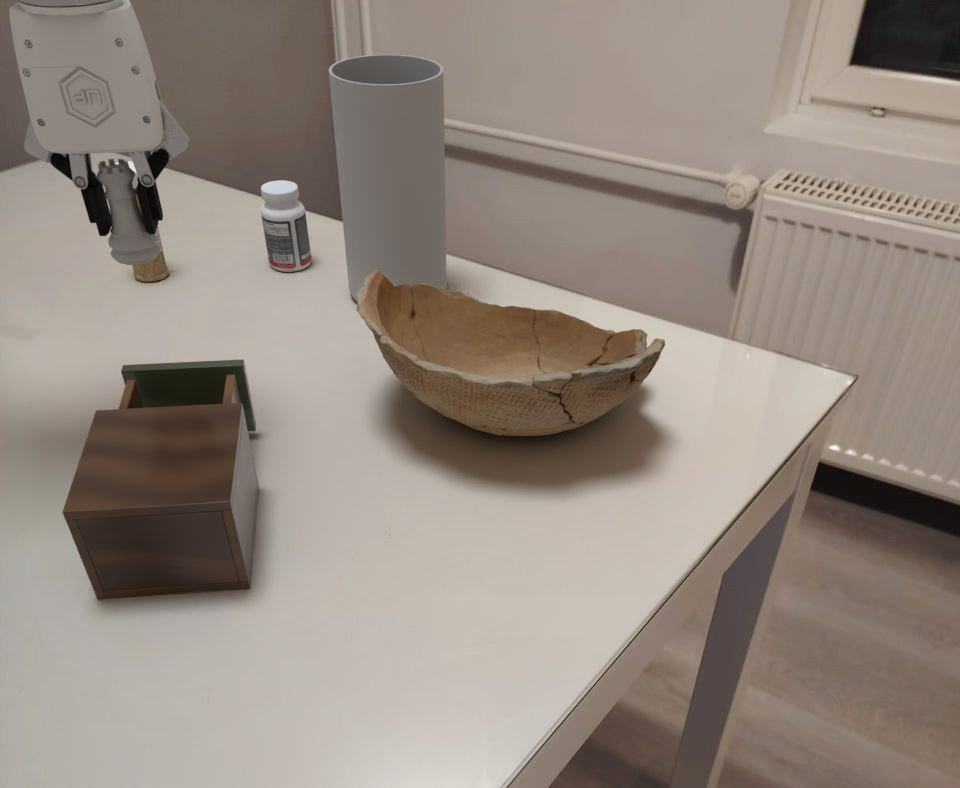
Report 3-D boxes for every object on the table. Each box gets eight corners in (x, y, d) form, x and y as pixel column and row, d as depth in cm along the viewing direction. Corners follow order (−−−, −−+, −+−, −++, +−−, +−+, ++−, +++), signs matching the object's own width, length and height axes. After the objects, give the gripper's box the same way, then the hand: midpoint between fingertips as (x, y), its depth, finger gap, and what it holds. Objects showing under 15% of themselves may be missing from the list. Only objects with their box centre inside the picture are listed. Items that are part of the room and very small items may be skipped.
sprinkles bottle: (131, 272, 119) (102, 162, 109) (166, 266, 120) (140, 157, 111) (138, 285, 116) (108, 174, 107) (173, 279, 118) (147, 169, 108)
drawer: (148, 406, 94) (130, 341, 89) (258, 400, 95) (246, 336, 90) (121, 512, 82) (98, 443, 76) (248, 504, 83) (234, 436, 77)
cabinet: (123, 494, 85) (95, 410, 78) (258, 486, 86) (242, 402, 80) (96, 599, 75) (61, 512, 68) (250, 588, 76) (230, 501, 69)
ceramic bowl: (638, 330, 105) (656, 207, 93) (657, 500, 90) (681, 381, 78) (384, 330, 106) (368, 209, 94) (361, 499, 91) (338, 381, 79)
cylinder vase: (337, 309, 112) (313, 81, 94) (364, 268, 121) (347, 51, 103) (435, 319, 111) (429, 88, 93) (455, 276, 119) (453, 58, 101)
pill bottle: (299, 252, 124) (289, 175, 117) (319, 266, 121) (310, 188, 114) (261, 262, 122) (249, 184, 115) (281, 276, 119) (269, 198, 111)
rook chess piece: (171, 253, 84) (150, 161, 78) (135, 270, 81) (110, 176, 75) (138, 242, 85) (114, 151, 80) (101, 259, 83) (74, 165, 77)
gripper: (-63, -6, 65) (26, 250, 78) (172, -9, 67) (220, 242, 80) (-36, -27, 70) (43, 217, 83) (181, -29, 72) (225, 210, 85)
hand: (129, 227), depth 81 cm, fingers closed on rook chess piece, 3 cm apart
